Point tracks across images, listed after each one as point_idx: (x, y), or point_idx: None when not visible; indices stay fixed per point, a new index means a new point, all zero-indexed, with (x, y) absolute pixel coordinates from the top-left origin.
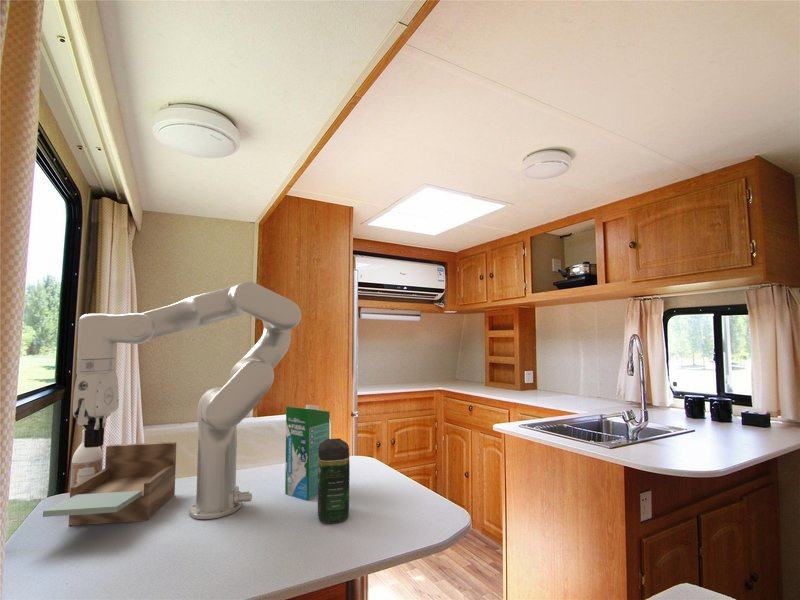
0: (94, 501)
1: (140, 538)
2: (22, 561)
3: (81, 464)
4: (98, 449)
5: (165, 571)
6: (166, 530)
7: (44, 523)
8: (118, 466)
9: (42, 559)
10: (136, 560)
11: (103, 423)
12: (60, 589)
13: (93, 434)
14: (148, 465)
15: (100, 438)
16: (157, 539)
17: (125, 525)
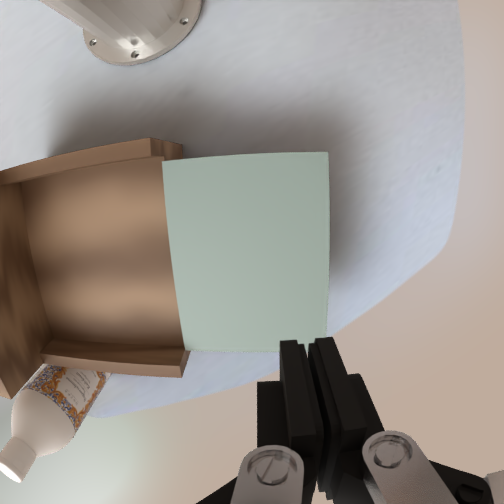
0: (261, 259)
1: (284, 109)
2: (350, 307)
3: (71, 416)
4: (22, 411)
5: (413, 19)
6: (247, 67)
7: (186, 375)
8: (29, 333)
9: (351, 275)
10: (380, 76)
11: (271, 482)
12: (452, 169)
13: (378, 419)
14: (8, 249)
15: (331, 369)
16: (293, 67)
17: None
